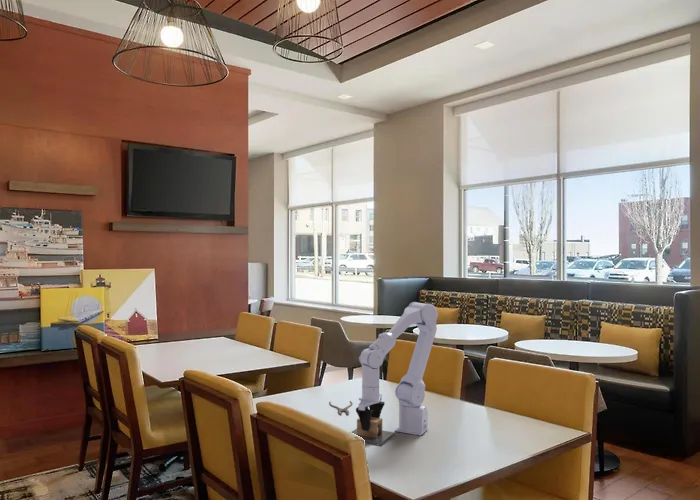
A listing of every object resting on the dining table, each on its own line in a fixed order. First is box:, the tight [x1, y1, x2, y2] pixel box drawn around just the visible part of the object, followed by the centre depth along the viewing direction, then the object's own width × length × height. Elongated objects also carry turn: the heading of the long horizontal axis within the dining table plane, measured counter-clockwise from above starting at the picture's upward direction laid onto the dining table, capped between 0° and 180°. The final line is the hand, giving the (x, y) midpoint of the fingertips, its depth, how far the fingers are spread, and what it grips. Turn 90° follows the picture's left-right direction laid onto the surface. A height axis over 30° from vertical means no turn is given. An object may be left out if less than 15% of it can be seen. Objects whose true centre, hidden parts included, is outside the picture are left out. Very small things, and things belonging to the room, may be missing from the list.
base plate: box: [351, 427, 396, 446], centre depth 177 cm, size 13×11×4 cm
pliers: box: [328, 400, 353, 416], centre depth 212 cm, size 10×1×20 cm
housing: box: [356, 417, 383, 438], centre depth 178 cm, size 7×5×5 cm
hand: (370, 426), depth 177 cm, fingers open, 7 cm apart
